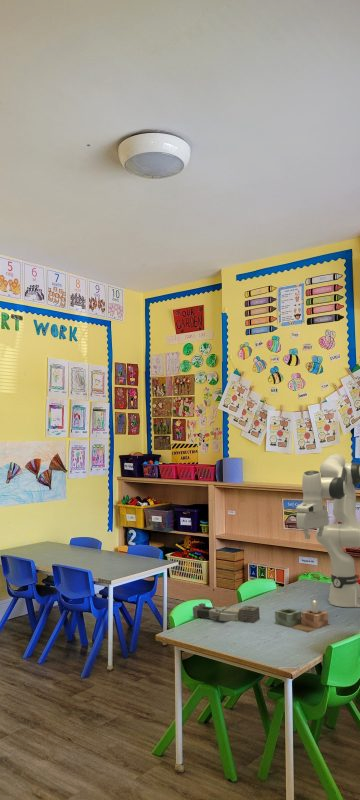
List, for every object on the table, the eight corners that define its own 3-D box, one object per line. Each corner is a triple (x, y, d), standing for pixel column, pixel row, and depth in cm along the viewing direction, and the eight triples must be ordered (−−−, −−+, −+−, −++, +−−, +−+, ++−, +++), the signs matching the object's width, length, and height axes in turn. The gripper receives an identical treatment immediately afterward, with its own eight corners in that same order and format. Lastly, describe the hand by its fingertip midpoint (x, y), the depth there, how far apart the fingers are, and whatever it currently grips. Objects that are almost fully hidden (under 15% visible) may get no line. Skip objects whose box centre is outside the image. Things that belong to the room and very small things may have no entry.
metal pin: (314, 622, 249) (313, 599, 250) (320, 624, 247) (319, 600, 248) (310, 624, 247) (309, 600, 248) (316, 625, 245) (315, 601, 246)
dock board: (296, 619, 260) (295, 604, 260) (330, 627, 246) (329, 612, 247) (273, 626, 249) (273, 611, 250) (308, 636, 236) (307, 619, 236)
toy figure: (202, 600, 273) (261, 605, 258) (203, 614, 272) (261, 621, 257) (191, 605, 263) (250, 612, 248) (191, 620, 263) (251, 628, 248)
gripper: (320, 504, 269) (321, 534, 267) (293, 507, 255) (294, 539, 254) (331, 505, 264) (332, 535, 263) (305, 508, 250) (306, 540, 249)
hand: (313, 537), depth 258 cm, fingers open, 8 cm apart
